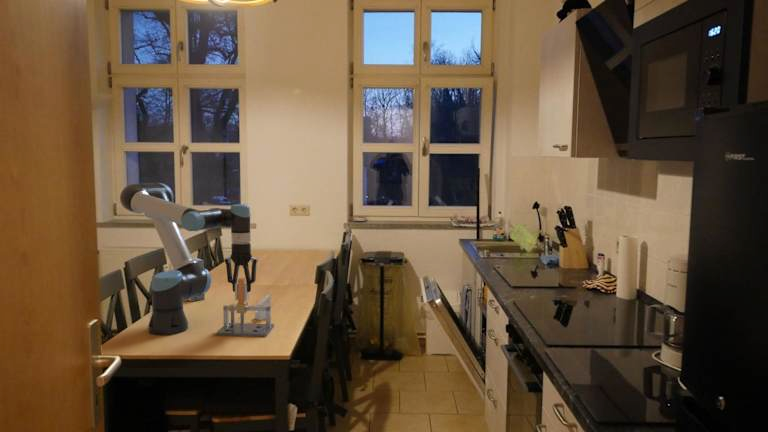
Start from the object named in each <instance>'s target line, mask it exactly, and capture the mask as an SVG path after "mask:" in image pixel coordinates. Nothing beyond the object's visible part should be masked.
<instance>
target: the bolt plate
mask: <svg viewBox="0 0 768 432" xmlns="http://www.w3.org/2000/svg"><path fill="white" fill-rule="evenodd" d="M234 323H235V326H234V327H231V322H229V326H228V327H224V325H223V326H222V327H220V328H219V330H217V331H216V332H215V336H218V337H219V336H220V337H221V336H222V337H223V336H224V337H257V338H258V337H260V338H261V337H265V338H266V337H268V335H269V334H270V333H271V331H273V329H274V327H275V324H274V323H271V327H270V328H266V323H249V322H247V323H245V322H244V326H241V322H239V323H238V322H234Z"/></svg>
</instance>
